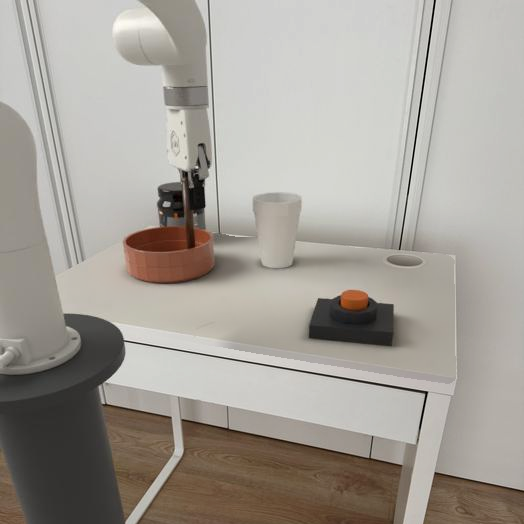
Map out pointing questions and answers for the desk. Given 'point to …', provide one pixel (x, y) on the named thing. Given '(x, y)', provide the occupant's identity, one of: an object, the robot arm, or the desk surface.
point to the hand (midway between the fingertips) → (194, 206)
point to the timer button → (354, 299)
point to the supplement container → (175, 207)
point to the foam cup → (277, 226)
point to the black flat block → (352, 322)
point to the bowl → (168, 254)
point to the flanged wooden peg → (188, 216)
